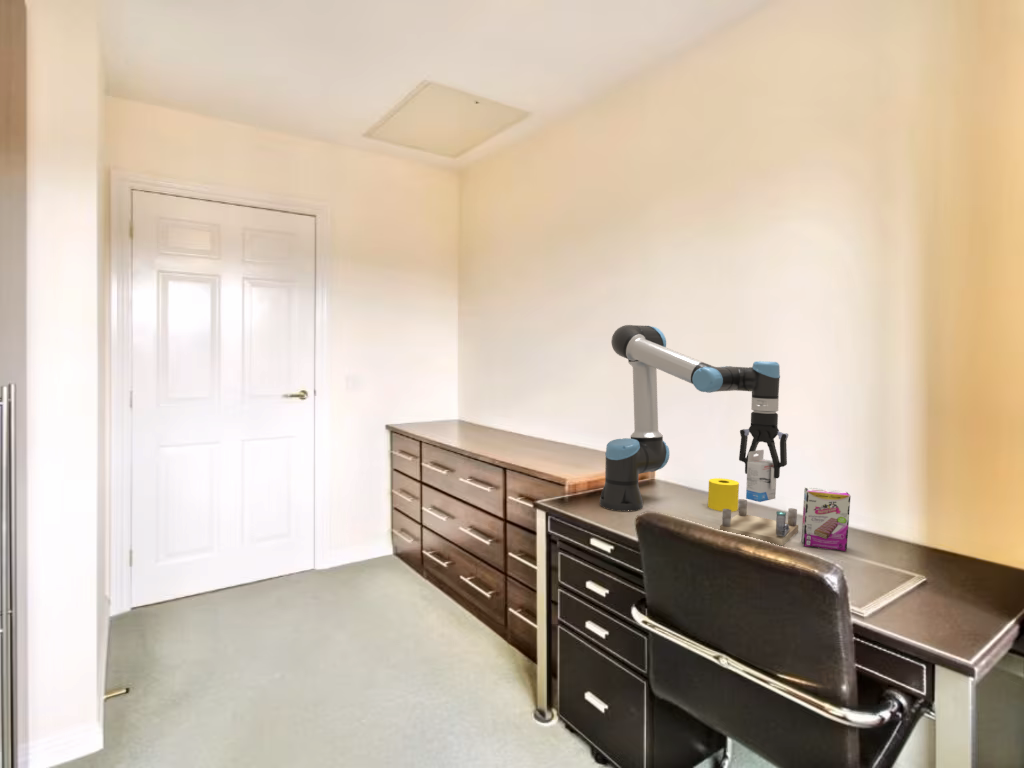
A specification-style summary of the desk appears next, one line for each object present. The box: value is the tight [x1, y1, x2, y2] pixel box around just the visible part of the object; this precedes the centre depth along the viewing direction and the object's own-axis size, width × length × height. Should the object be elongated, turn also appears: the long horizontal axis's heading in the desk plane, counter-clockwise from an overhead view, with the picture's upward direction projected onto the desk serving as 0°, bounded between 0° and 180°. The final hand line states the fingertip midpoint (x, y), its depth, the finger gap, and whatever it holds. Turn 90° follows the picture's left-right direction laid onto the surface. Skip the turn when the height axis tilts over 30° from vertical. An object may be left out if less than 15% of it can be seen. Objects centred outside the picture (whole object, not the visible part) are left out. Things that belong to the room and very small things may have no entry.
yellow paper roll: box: [707, 477, 740, 513], centre depth 199 cm, size 10×10×9 cm
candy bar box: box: [800, 487, 852, 552], centre depth 160 cm, size 11×5×16 cm, turn 71°
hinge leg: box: [775, 510, 790, 536], centre depth 165 cm, size 10×2×7 cm, turn 143°
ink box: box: [745, 449, 777, 503], centre depth 172 cm, size 8×5×15 cm, turn 124°
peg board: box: [719, 498, 799, 547], centre depth 173 cm, size 18×18×7 cm
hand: (761, 486), depth 172 cm, fingers closed on ink box, 6 cm apart
